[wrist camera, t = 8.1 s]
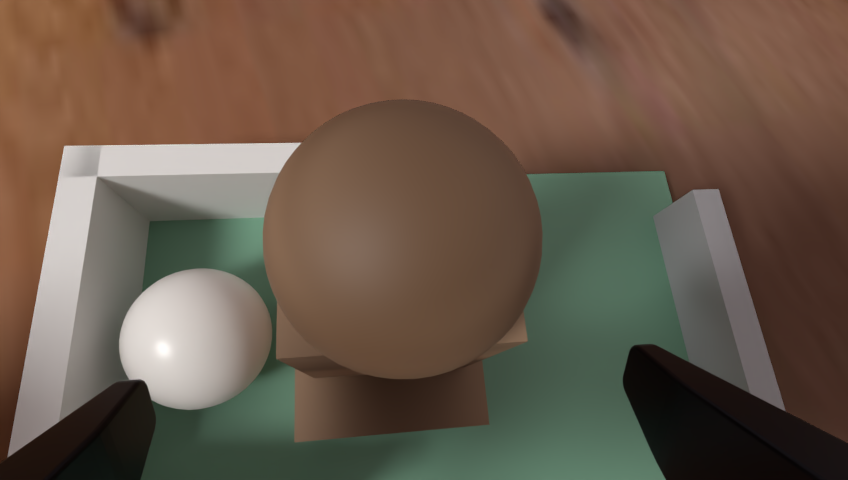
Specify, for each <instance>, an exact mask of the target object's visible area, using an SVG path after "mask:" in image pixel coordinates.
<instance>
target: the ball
mask: <svg viewBox="0 0 848 480" xmlns="http://www.w3.org/2000/svg"><path fill="white" fill-rule="evenodd" d="M271 342H272V323H271V318H270V314H269V312H268V309H267V307H266V305H265V303H264V301H263V300H262V298H261V297H260V295H259V294H258V293H257V291H256V290H255V289H254V288H253V287H252V286H251V285H249V284H248V283H246V282H245V281H244V280H242V279H241V278H239V277H237V276H235V275H233V274H230V273H227V272H224V271H220V270H215V269H207V268H198V269H189V270H183V271H180V272H176V273H173V274H171V275H168V276H166V277H164V278H162V279H160V280H158V281H157V282H155V283H154V284H152V285H151V286H150V287H148V288H147V289H146V290H145V291H144V292H143V293H142V294H141V295H140V296H139V297H138V298H137V299H136V300H135V302H134V303H133V304H132V306H131V307H130V309H129V311H128V312H127V314H126V316H125V319H124V321H123V324H122V328H121V331H120V338H119V353H120V359H121V363H122V366H123V369H124V371H125V373H126V375H127V377H128V378H129V380H135V379H141V380H143V381H145V383H146V384H147V386H148V390H149V393H150V396H151V400H152V401H154V402H156V403H158V404H161V405H163V406H166V407H171V408H175V409H183V410H196V409H203V408H208V407H212V406H215V405H218V404H221V403H223V402H226V401H228V400H230V399H231V398H233V397H235V396H236V395H238V394H239V393H241V392H242V391H243V390H244V389H246V388H247V387H248V386H249V385H250V384H251V383H252V382H253V381H254V379H255V378H256V377H257V376H258V374H259V373H260V371H261V370H262V368H263V366H264V364H265V362H266V360H267V358H268V355H269V352H270V348H271Z"/></svg>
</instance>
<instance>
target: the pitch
mask: <svg viewBox="0 0 848 480" xmlns="http://www.w3.org/2000/svg"><path fill="white" fill-rule="evenodd" d="M300 144H301V143H253V144H179V145H105V146H64V151H63V156H62V162H61V167H60V173H59V178H58V184H57V189H56V195H55V200H54V205H53V211H52V216H51V222H50V227H49V233H48V238H47V244H46V249H45V255H44V260H43V265H42V271H41V276H40V282H39V287H38V293H37V298H36V304H35V309H34V315H33V320H32V326H31V331H30V336H29V342H28V347H27V353H26V358H25V364H24V369H23V375H22V380H21V386H20V391H19V396H18V402H17V407H16V413H15V418H14V424H13V429H12V435H11V440H10V446H9V451H8V456H7V458H8V457H9V456H10V455H12V454H13V453H15V452H16V451H18V450H19V449H20V448H22V447H23V446H25V445H26V444H28V443H29V442H30V441H32V440H33V439H35V438H36V437H38V436H39V435H41V434H42V433H43V432H45V431H46V430H48V429H49V428H51V427H52V426H53V425H55V424H56V423H58V422H59V421H61V420H62V419H63V418H65V417H66V416H68V415H69V414H71V413H72V412H73V411H75V410H76V409H78V408H79V407H81V406H82V405H83V404H85V403H86V402H88V401H89V400H91V399H92V398H93V397H95V396H96V395H98V394H99V393H101V392H102V391H103V390H105V389H106V388H108V387H109V386H111V385H112V384H114V383H115V382H117V381H122V380H129V378H128V377H127V375H126V373H125V371H124V369H123V366H122V363H121V359H120V353H119V338H120V331H121V328H122V324H123V321H124V319H125V316H126V314H127V312H128V311H129V309H130V307H131V306H132V304H133V303H134V302H135V300H136V299H137V298H138V297H139V296H140V295H141V294H142V293H143V292H144V291H145V290H146V289H147V288H148V287H150V286H151V285H152V284H154V283H155V282H157V281H158V280H160V279H162V278H164V277H166V276H168V275H171V274H173V273H176V272H180V271H183V270H189V269H198V268H207V269H215V270H220V271H224V272H227V273H230V274H233V275H235V276H237V277H239V278H241V279H242V280H244V281H245V282H246V283H248V284H249V285H251V286H252V287H253V288H254V289H255V290H256V291H257V293H258V294H259V295H260V297H261V298H262V300H263V301H264V303H265V305H266V307H267V309H268V312H269V314H270V318H271V323H272V342H271V348H270V352H269V355H268V358H267V360H266V362H265V364H264V366H263V368H262V370H261V371H260V373H259V374H258V376H257V377H256V378H255V379H254V381H253V382H252V383H251V384H250V385H249V386H248V387H247V388H246V389H244V390H243V391H242V392H241V393H239V394H238V395H236V396H235V397H233V398H231V399H230V400H228V401H226V402H223V403H221V404H218V405H215V406H212V407H208V408H203V409H196V410H183V409H175V408H171V407H166V406H163V405H161V404H158V403H156V402H154V401H152V403H153V407H154V410H155V414H156V426H155V431H154V434H153V438H152V441H151V445H150V448H149V452H148V455H147V459H146V463H145V466H144V470H143V473H142V477H141V480H666V479H665V477H664V476H663V474H662V472H661V470H660V468H659V466H658V464H657V462H656V460H655V458H654V456H653V454H652V452H651V450H650V448H649V445H648V443H647V441H646V439H645V436H644V434H643V432H642V429H641V427H640V425H639V423H638V420H637V418H636V416H635V413H634V411H633V409H632V407H631V404H630V402H629V400H628V397H627V395H626V393H625V390H624V387H623V374H624V370H625V366H626V362H627V358H628V354H629V350H630V348H631V347H632V346H634V345H638V344H655V345H657V346H659V347H661V348H663V349H665V350H667V351H669V352H671V353H673V354H675V355H676V356H678V357H680V358H682V359H684V360H686V361H688V362H690V363H692V364H694V365H696V366H698V367H700V368H702V369H704V370H706V371H708V372H710V373H712V374H714V375H715V376H717V377H719V378H721V379H723V380H725V381H727V382H729V383H731V384H733V385H735V386H737V387H739V388H741V389H743V390H745V391H747V392H749V393H751V394H753V395H754V396H756V397H758V398H760V399H762V400H764V401H766V402H768V403H770V404H772V405H774V406H776V407H778V408H780V409H782V410H784V411H786V410H785V407H784V404H783V401H782V397H781V394H780V391H779V387H778V384H777V381H776V377H775V374H774V371H773V367H772V364H771V361H770V358H769V354H768V351H767V348H766V344H765V341H764V338H763V334H762V331H761V328H760V325H759V321H758V318H757V315H756V311H755V308H754V305H753V301H752V298H751V295H750V292H749V288H748V285H747V282H746V278H745V275H744V272H743V268H742V265H741V262H740V258H739V255H738V252H737V249H736V245H735V242H734V239H733V235H732V232H731V229H730V225H729V222H728V219H727V216H726V212H725V209H724V206H723V202H722V199H721V196H720V192H719V189H705V190H692V191H690V192H689V193H687V194H686V195H684V196H683V197H681V198H680V199H678V200H677V201H675V202H674V203H673V202H672V199H671V195H670V191H669V187H668V184H667V180H666V176H665V172H664V171H644V172H600V173H557V174H526V175H527V176H528V178H529V180H530V183H531V185H532V188H533V191H534V193H535V196H536V199H537V202H538V206H539V210H540V214H541V222H542V232H543V236H542V258H541V264H540V269H539V274H538V277H537V280H536V283H535V286H534V289H533V292H532V294H531V296H530V298H529V300H528V302H527V304H526V306H525V308H524V318H525V325H526V332H527V339H528V342H525V343H523V344H520V345H518V346H515V347H513V348H511V349H508V350H506V351H503V352H501V353H498V354H496V355H494V356H491V357H489V358H486V359H484V360H482V363H483V372H484V381H485V389H486V398H487V407H488V416H489V424H490V425H480V426H469V427H458V428H448V429H437V430H426V431H415V432H404V433H393V434H382V435H371V436H360V437H349V438H338V439H327V440H316V441H305V442H294V433H295V368H293V367H291V366H289V365H287V364H285V363H283V362H281V361H279V360H277V359H276V331H277V300H276V298H275V296H274V294H273V291H272V289H271V286H270V283H269V280H268V277H267V273H266V268H265V263H264V257H263V224H264V215H265V211H266V207H267V203H268V199H269V196H270V194H271V191H272V189H273V186H274V184H275V181H276V179H277V176H278V175H279V173H280V171H281V169H282V168H283V166H284V164H285V162H286V161H287V160H288V158H289V157H290V156H291V154H292V153H293V152H294V151H295V149H296V148H297V147H298V146H299V145H300Z"/></svg>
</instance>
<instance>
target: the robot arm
mask: <svg viewBox="0 0 848 480" xmlns="http://www.w3.org/2000/svg"><path fill="white" fill-rule="evenodd" d="M623 387H624V390H625V393H626V395H627V397H628V400H629V402H630V404H631V407H632V409H633V411H634V413H635V416H636V418H637V420H638V423H639V425H640V427H641V429H642V432H643V434H644V436H645V439H646V441H647V443H648V445H649V448H650V450H651V452H652V454H653V456H654V458H655V460H656V462H657V464H658V466H659V468H660V470H661V472H662V474H663V476H664V477H665V479H666V480H848V443H846V442H844V441H842V440H840V439H838V438H836V437H834V436H832V435H831V434H829V433H827V432H825V431H823V430H821V429H819V428H817V427H815V426H813V425H811V424H809V423H807V422H805V421H803V420H801V419H799V418H797V417H795V416H793V415H792V414H790V413H788V412H786V411H784V410H782V409H780V408H778V407H776V406H774V405H772V404H770V403H768V402H766V401H764V400H762V399H760V398H758V397H756V396H754V395H753V394H751V393H749V392H747V391H745V390H743V389H741V388H739V387H737V386H735V385H733V384H731V383H729V382H727V381H725V380H723V379H721V378H719V377H717V376H715V375H714V374H712V373H710V372H708V371H706V370H704V369H702V368H700V367H698V366H696V365H694V364H692V363H690V362H688V361H686V360H684V359H682V358H680V357H678V356H676V355H675V354H673V353H671V352H669V351H667V350H665V349H663V348H661V347H659V346H657V345H655V344H638V345H634V346H632V347H631V348H630V350H629V354H628V358H627V362H626V366H625V370H624V374H623ZM155 426H156V414H155V410H154V407H153V403H152V400H151V396H150V393H149V390H148V386H147V384H146V383H145V381H143V380H141V379H135V380H122V381H117V382H115V383H114V384H112V385H111V386H109V387H108V388H106V389H105V390H103V391H102V392H101V393H99V394H98V395H96V396H95V397H93V398H92V399H91V400H89V401H88V402H86V403H85V404H83V405H82V406H81V407H79V408H78V409H76V410H75V411H73V412H72V413H71V414H69V415H68V416H66V417H65V418H63V419H62V420H61V421H59V422H58V423H56V424H55V425H53V426H52V427H51V428H49V429H48V430H46V431H45V432H43V433H42V434H41V435H39V436H38V437H36V438H35V439H33V440H32V441H30V442H29V443H28V444H26V445H25V446H23V447H22V448H20V449H19V450H18V451H16V452H15V453H13V454H12V455H10V456H9V457H8V458H6V459H5V460H3V461H2V462H0V480H141V477H142V473H143V470H144V466H145V463H146V459H147V455H148V452H149V448H150V445H151V441H152V438H153V434H154V431H155Z"/></svg>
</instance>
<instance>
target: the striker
mask: <svg viewBox="0 0 848 480" xmlns="http://www.w3.org/2000/svg"><path fill="white" fill-rule="evenodd" d="M542 236H543V232H542V222H541V214H540V210H539V206H538V202H537V199H536V196H535V193H534V191H533V188H532V185H531V183H530V180H529V178H528V176H527V175H526V173H525V171H524V169H523V167H522V165H521V164H520V162H519V161H518V160H517V158H516V157H515V155H514V154H513V153H512V151H511V150H510V149H509V148H508V147H507V146H506V145H505V144H504V142H503V141H502V140H500V139H499V138H498V137H497V136H496V135H495V134H494V133H493V132H491V131H490V130H489V129H488V128H486V127H485V126H483V125H482V124H480V123H479V122H478V121H476V120H475V119H473V118H471V117H469V116H467V115H465V114H463V113H462V112H459V111H457V110H454V109H452V108H449V107H446V106H443V105H439V104H436V103H431V102H425V101H419V100H387V101H381V102H375V103H370V104H367V105H363V106H360V107H356V108H353V109H351V110H349V111H346V112H344V113H342V114H339V115H338V116H336V117H334V118H332V119H331V120H329V121H327V122H325V123H324V124H323V125H321V126H320V127H319V128H318V129H316V130H315V131H314V132H312V133H311V134H310V135H309V136H308V137H307V138H306V139H305V140H304V141H303V142H302V143H301V144H300V145H299V146H298V147H297V148H296V149H295V151H294V152H293V153H292V154H291V156H290V157H289V158H288V160H287V161H286V162H285V164H284V166H283V168H282V169H281V171H280V173H279V175H278V176H277V179H276V181H275V184H274V186H273V189H272V191H271V194H270V196H269V199H268V203H267V207H266V211H265V215H264V224H263V257H264V263H265V268H266V273H267V277H268V280H269V283H270V286H271V289H272V291H273V294H274V296H275V298H276V300H277V331H276V359H277V360H279V361H281V362H283V363H285V364H287V365H289V366H291V367H293V368H295V433H294V442H305V441H316V440H327V439H338V438H349V437H360V436H371V435H382V434H393V433H404V432H415V431H426V430H437V429H448V428H458V427H469V426H480V425H490V424H489V416H488V407H487V398H486V389H485V381H484V372H483V363H482V360H484V359H486V358H489V357H491V356H494V355H496V354H498V353H501V352H503V351H506V350H508V349H511V348H513V347H515V346H518V345H520V344H523V343H525V342H528V339H527V332H526V325H525V318H524V308H525V306H526V304H527V302H528V300H529V298H530V296H531V294H532V292H533V289H534V286H535V283H536V280H537V277H538V274H539V269H540V264H541V258H542Z"/></svg>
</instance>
